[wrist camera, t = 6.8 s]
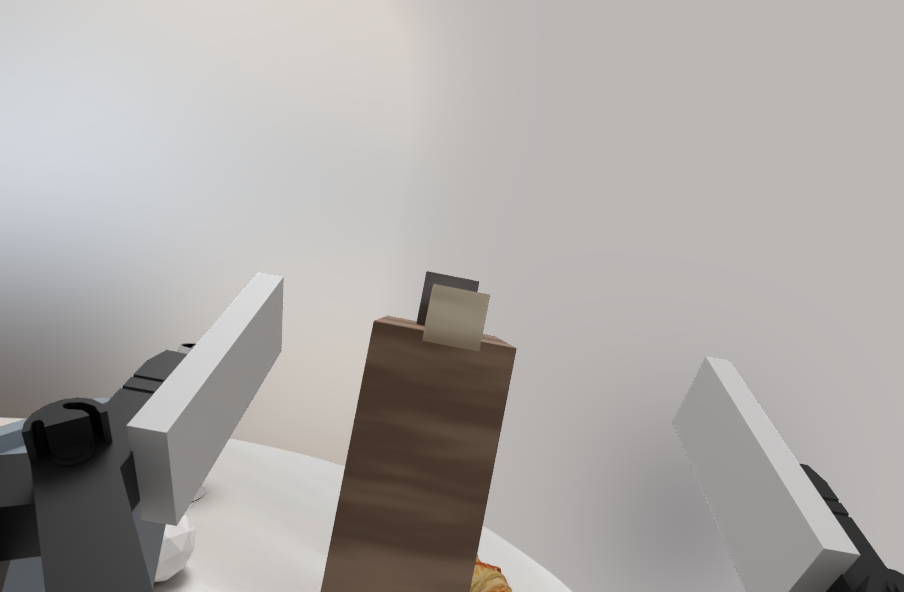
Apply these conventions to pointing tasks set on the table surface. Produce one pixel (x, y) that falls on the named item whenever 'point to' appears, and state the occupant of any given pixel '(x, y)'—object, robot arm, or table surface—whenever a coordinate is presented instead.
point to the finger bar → (452, 311)
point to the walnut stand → (418, 463)
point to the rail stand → (27, 574)
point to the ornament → (175, 549)
